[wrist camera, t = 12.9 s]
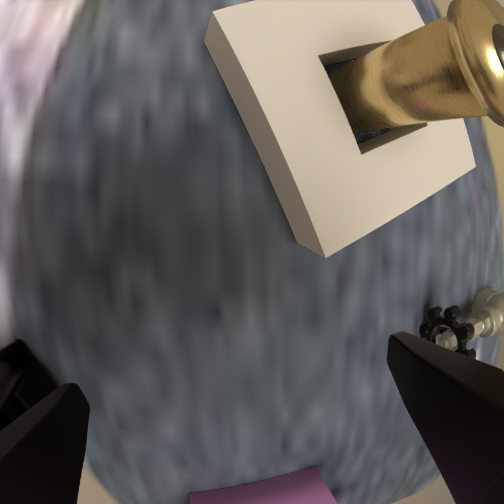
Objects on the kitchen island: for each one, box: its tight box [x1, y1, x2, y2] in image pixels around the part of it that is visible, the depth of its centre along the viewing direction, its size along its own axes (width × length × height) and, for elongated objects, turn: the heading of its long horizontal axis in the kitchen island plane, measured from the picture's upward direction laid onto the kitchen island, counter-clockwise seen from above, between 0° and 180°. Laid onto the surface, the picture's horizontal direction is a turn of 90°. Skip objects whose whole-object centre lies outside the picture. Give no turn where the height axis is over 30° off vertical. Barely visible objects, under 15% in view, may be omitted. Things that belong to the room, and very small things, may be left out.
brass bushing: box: [328, 0, 504, 134], centre depth 13 cm, size 5×5×13 cm
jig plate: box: [204, 0, 476, 258], centre depth 17 cm, size 14×14×4 cm
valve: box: [420, 288, 504, 359], centre depth 23 cm, size 7×7×12 cm
